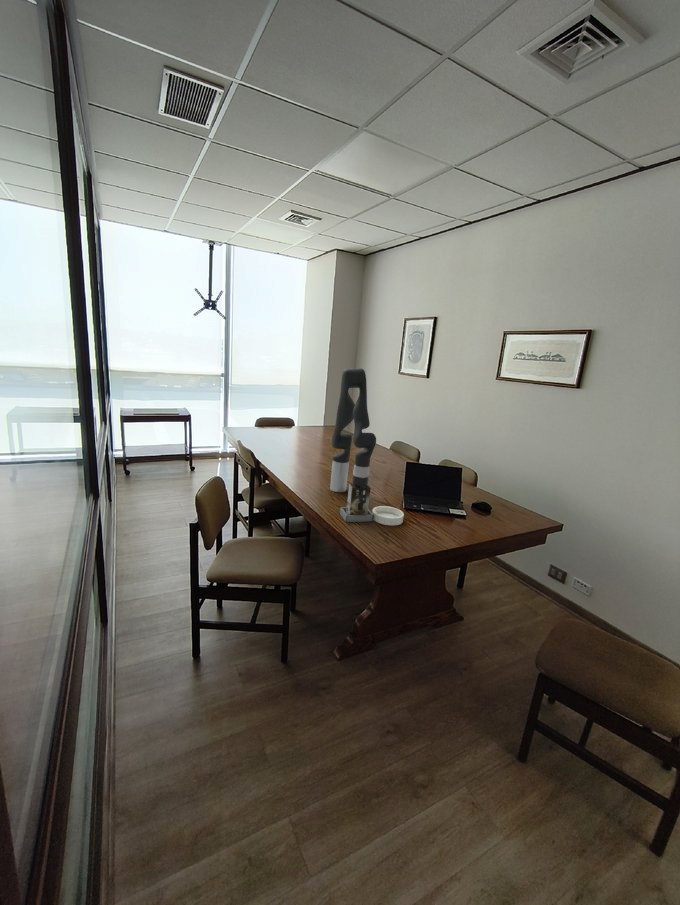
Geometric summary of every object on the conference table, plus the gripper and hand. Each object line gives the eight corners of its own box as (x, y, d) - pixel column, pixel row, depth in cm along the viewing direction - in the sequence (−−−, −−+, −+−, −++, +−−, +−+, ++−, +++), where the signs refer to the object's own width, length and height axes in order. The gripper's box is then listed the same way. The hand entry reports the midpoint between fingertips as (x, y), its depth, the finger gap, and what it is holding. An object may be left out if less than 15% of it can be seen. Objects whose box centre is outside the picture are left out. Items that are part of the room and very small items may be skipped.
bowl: (367, 512, 199) (368, 506, 199) (395, 512, 204) (396, 505, 203) (378, 525, 186) (379, 518, 185) (407, 524, 190) (408, 518, 189)
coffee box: (348, 519, 189) (351, 487, 185) (345, 514, 195) (348, 483, 191) (367, 519, 191) (370, 488, 187) (363, 514, 197) (367, 483, 193)
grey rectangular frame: (339, 512, 196) (340, 507, 195) (365, 512, 200) (366, 506, 199) (345, 522, 186) (346, 516, 186) (373, 521, 190) (373, 515, 189)
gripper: (348, 469, 193) (345, 501, 197) (358, 479, 180) (354, 512, 184) (363, 469, 196) (359, 501, 199) (373, 479, 182) (369, 512, 186)
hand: (357, 506), depth 192 cm, fingers open, 8 cm apart
